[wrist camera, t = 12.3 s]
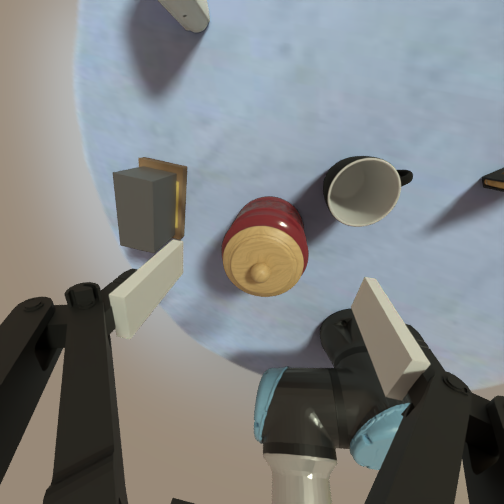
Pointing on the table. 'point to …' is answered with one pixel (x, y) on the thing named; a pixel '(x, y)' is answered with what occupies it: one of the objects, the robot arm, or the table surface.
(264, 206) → the canister
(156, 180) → the grey bevelled block
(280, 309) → the table surface
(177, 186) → the block
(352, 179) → the mug
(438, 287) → the table surface
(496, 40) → the table surface
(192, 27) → the photo printer
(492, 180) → the ammunition clip
